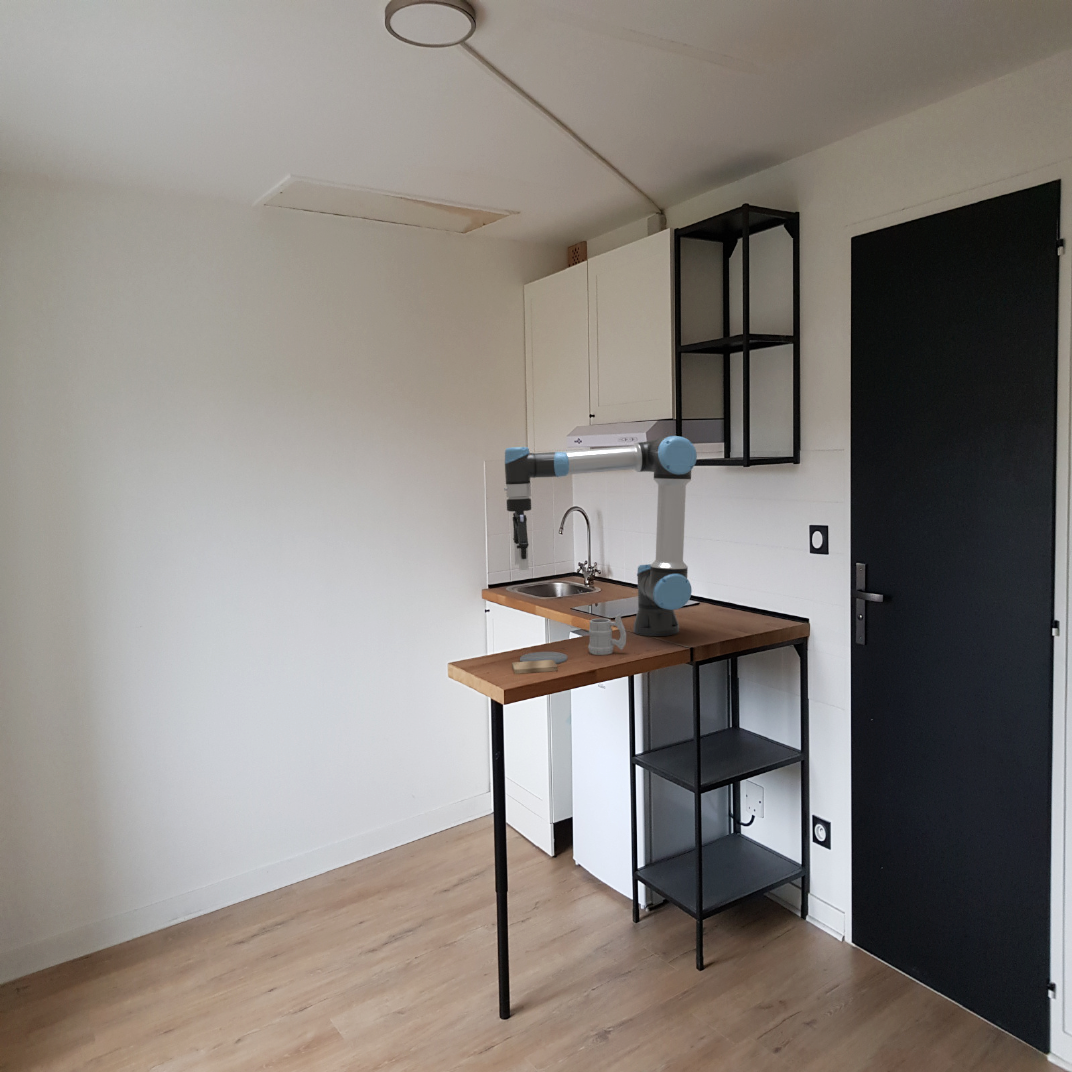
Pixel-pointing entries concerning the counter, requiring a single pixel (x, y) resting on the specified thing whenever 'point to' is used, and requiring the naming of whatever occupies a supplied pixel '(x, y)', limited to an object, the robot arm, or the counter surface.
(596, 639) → the mug
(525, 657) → the coaster
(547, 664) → the small board
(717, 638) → the counter surface
